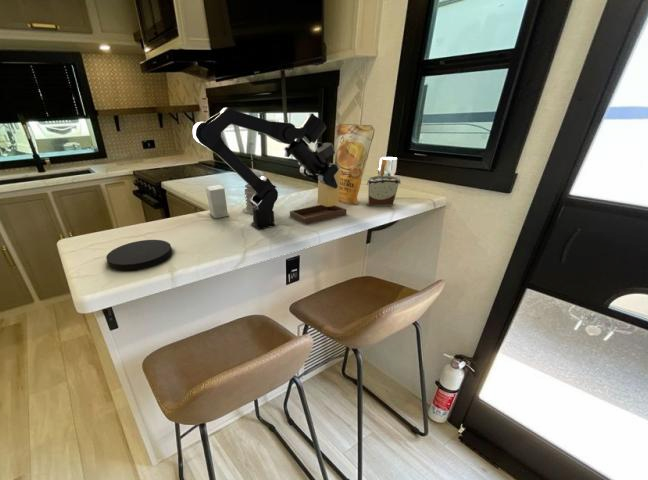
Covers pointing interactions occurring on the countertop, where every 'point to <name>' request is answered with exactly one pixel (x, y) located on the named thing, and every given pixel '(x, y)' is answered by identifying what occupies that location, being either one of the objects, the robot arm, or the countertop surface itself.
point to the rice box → (329, 192)
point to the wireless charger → (139, 255)
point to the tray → (317, 213)
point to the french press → (248, 191)
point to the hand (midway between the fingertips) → (332, 185)
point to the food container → (382, 190)
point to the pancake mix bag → (352, 158)
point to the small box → (217, 201)
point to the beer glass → (387, 166)
